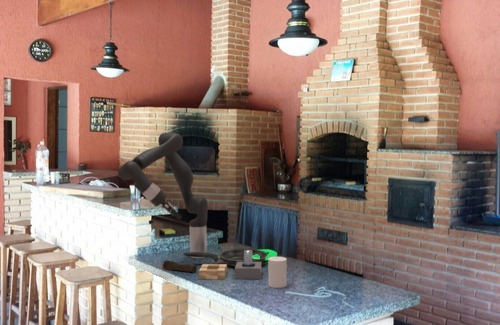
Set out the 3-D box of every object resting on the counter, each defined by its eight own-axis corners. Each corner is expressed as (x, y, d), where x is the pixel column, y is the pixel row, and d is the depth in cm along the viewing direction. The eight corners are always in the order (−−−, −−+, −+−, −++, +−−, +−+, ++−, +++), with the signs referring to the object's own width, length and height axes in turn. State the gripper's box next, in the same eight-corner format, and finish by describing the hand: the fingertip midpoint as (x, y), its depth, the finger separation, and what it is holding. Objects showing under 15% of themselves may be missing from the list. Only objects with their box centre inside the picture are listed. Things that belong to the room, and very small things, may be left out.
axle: (244, 274, 245) (244, 249, 244) (252, 274, 245) (252, 249, 244) (243, 276, 241) (243, 251, 240) (252, 276, 241) (252, 251, 240)
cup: (288, 283, 230) (288, 257, 229) (283, 288, 222) (283, 261, 221) (271, 281, 232) (271, 256, 232) (266, 287, 225) (266, 260, 224)
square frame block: (202, 271, 249) (202, 264, 249) (226, 272, 249) (226, 264, 248) (198, 279, 237) (198, 270, 237) (224, 279, 237) (224, 270, 236)
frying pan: (264, 256, 279) (264, 244, 278) (270, 269, 254) (270, 255, 253) (185, 259, 275) (184, 246, 275) (182, 271, 250) (182, 258, 250)
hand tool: (197, 272, 250) (197, 262, 250) (193, 274, 247) (193, 264, 246) (166, 267, 259) (166, 258, 258) (161, 269, 255) (161, 260, 255)
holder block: (237, 271, 249) (237, 261, 249) (261, 271, 249) (261, 261, 248) (235, 278, 237) (235, 268, 237) (260, 279, 237) (260, 268, 236)
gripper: (161, 190, 230) (187, 213, 234) (158, 186, 244) (182, 209, 248) (150, 202, 229) (175, 225, 233) (147, 198, 243) (171, 220, 247)
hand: (179, 217), depth 241 cm, fingers open, 8 cm apart
